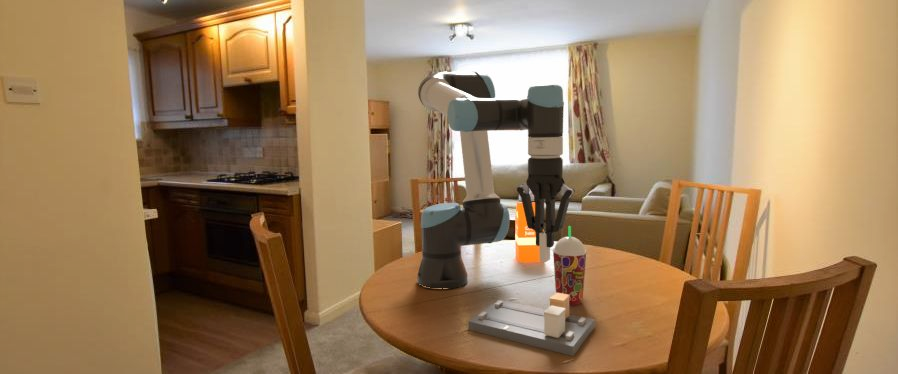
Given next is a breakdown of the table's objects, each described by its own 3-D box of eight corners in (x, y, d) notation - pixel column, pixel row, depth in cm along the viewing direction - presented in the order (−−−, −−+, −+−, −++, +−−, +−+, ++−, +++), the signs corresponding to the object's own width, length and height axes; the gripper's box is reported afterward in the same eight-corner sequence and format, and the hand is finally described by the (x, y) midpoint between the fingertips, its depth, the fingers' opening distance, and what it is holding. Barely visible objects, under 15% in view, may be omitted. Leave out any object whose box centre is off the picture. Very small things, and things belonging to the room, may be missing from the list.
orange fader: (549, 319, 100) (549, 298, 99) (556, 312, 103) (556, 292, 103) (563, 322, 98) (563, 300, 98) (569, 315, 102) (569, 294, 101)
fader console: (468, 329, 101) (468, 317, 101) (499, 307, 113) (498, 296, 113) (572, 356, 88) (573, 342, 87) (594, 327, 100) (594, 315, 100)
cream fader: (543, 334, 92) (543, 312, 92) (551, 327, 96) (551, 305, 95) (558, 338, 90) (558, 315, 90) (565, 330, 94) (565, 308, 93)
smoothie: (580, 310, 110) (581, 230, 108) (548, 304, 115) (548, 227, 112) (589, 299, 117) (590, 224, 115) (558, 293, 122) (558, 221, 119)
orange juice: (544, 261, 152) (544, 204, 150) (518, 262, 152) (517, 204, 150) (539, 255, 160) (539, 200, 158) (515, 256, 160) (514, 201, 158)
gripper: (510, 157, 99) (511, 260, 102) (568, 158, 92) (567, 269, 95) (524, 155, 105) (525, 252, 108) (579, 155, 98) (578, 260, 101)
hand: (544, 260), depth 101 cm, fingers closed
